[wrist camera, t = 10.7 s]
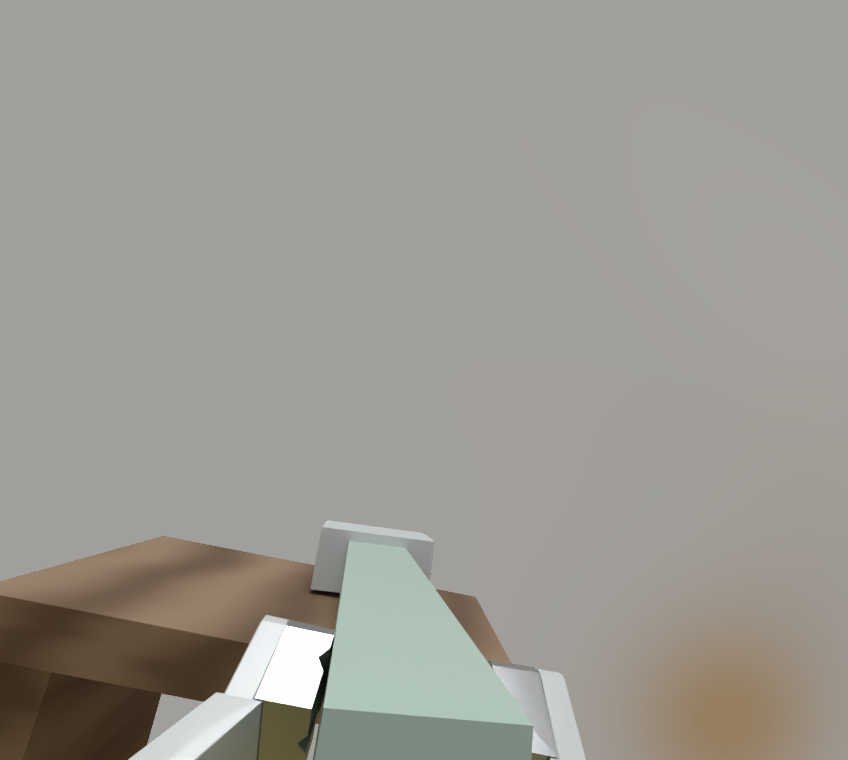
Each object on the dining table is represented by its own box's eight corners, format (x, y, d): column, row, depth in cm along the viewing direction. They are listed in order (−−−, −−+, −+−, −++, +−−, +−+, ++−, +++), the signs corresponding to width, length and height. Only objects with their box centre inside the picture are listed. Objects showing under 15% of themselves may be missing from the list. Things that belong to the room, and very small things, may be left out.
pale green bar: (152, 942, 5) (219, 656, 6) (321, 563, 28) (330, 516, 29) (626, 952, 6) (630, 695, 6) (410, 574, 29) (417, 528, 29)
